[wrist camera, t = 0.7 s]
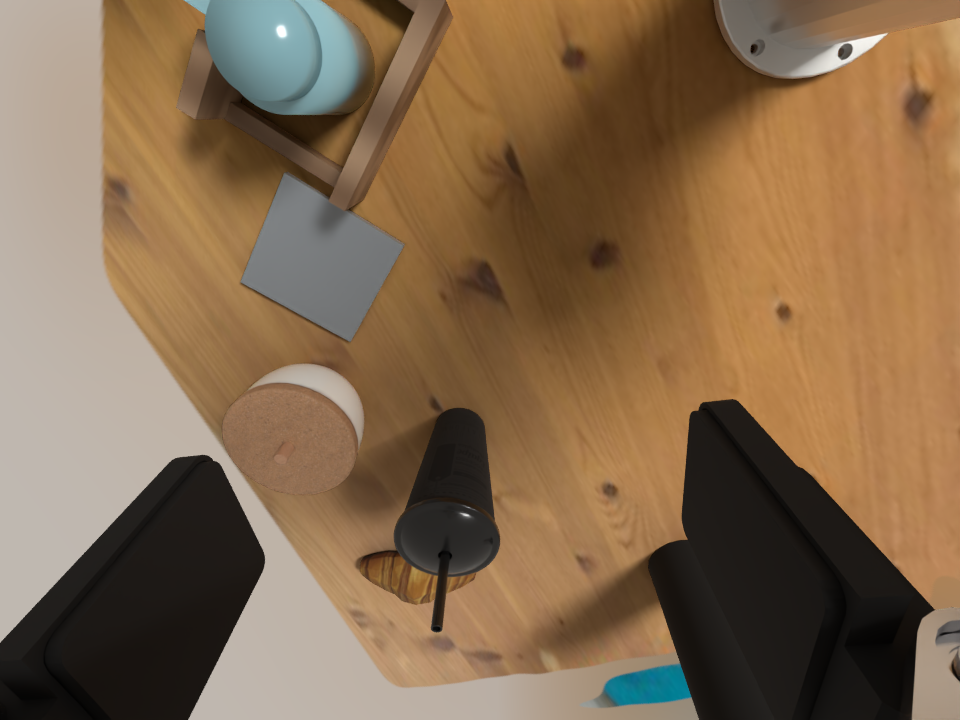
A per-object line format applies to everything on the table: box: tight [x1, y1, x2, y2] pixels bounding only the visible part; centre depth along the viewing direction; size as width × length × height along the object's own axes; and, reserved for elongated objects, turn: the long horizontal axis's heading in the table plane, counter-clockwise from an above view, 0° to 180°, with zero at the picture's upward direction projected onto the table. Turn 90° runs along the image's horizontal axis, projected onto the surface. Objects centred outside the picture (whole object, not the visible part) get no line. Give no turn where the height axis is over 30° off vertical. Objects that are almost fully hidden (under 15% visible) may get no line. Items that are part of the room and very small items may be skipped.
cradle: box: [176, 0, 453, 211], centre depth 29 cm, size 13×11×5 cm
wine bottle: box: [648, 540, 775, 720], centre depth 40 cm, size 8×8×30 cm
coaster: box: [241, 172, 405, 342], centre depth 38 cm, size 10×10×1 cm
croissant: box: [360, 551, 476, 605], centre depth 52 cm, size 14×7×5 cm, turn 89°
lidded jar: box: [222, 363, 365, 495], centre depth 40 cm, size 11×11×9 cm
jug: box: [184, 0, 375, 115], centre depth 26 cm, size 6×9×11 cm, turn 58°
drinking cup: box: [394, 408, 500, 632], centre depth 36 cm, size 8×8×20 cm
